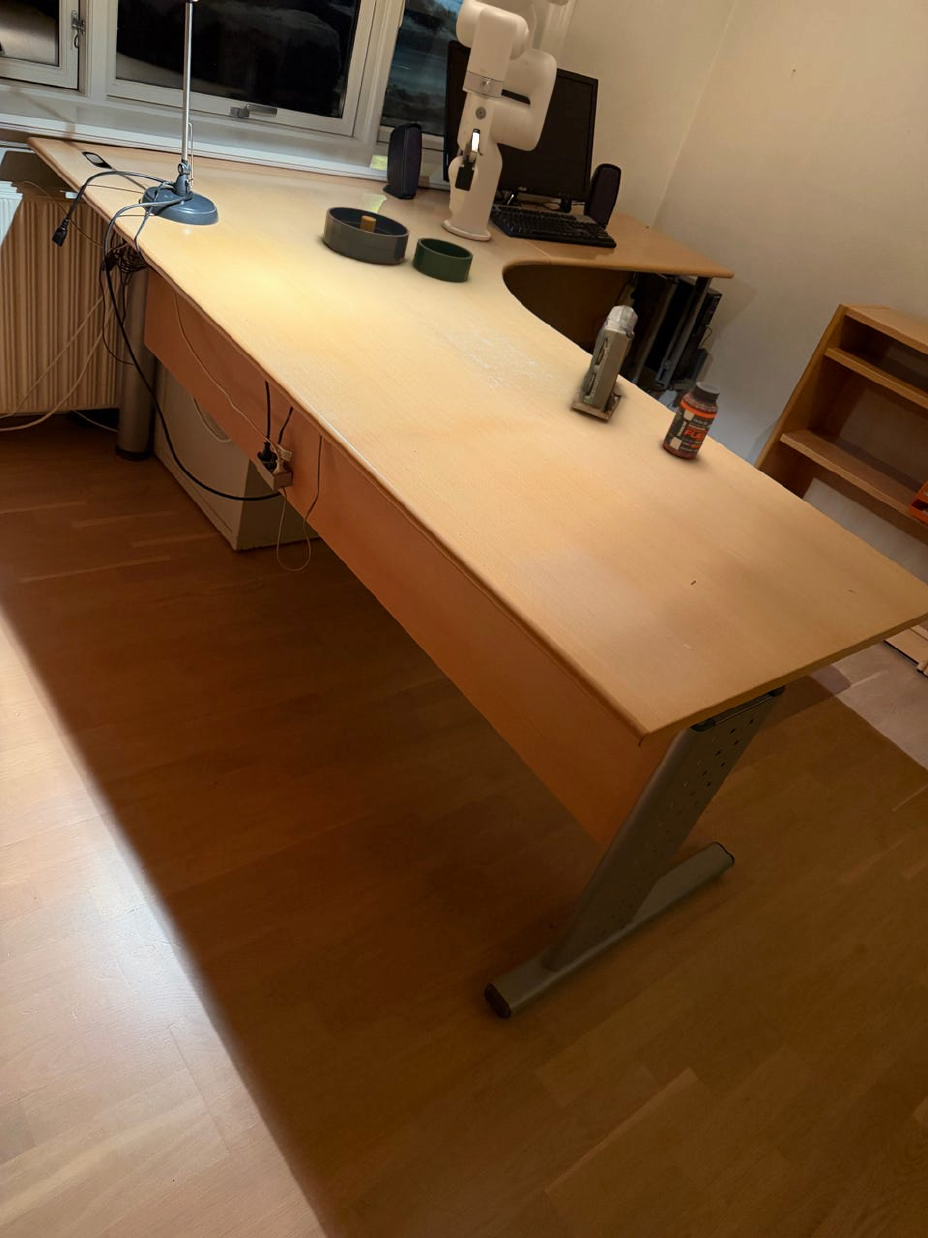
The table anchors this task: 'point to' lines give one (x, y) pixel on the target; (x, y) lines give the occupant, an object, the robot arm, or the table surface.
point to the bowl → (365, 236)
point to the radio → (607, 364)
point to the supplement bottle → (692, 421)
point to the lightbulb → (456, 194)
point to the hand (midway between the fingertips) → (460, 184)
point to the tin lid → (368, 224)
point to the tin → (442, 260)
